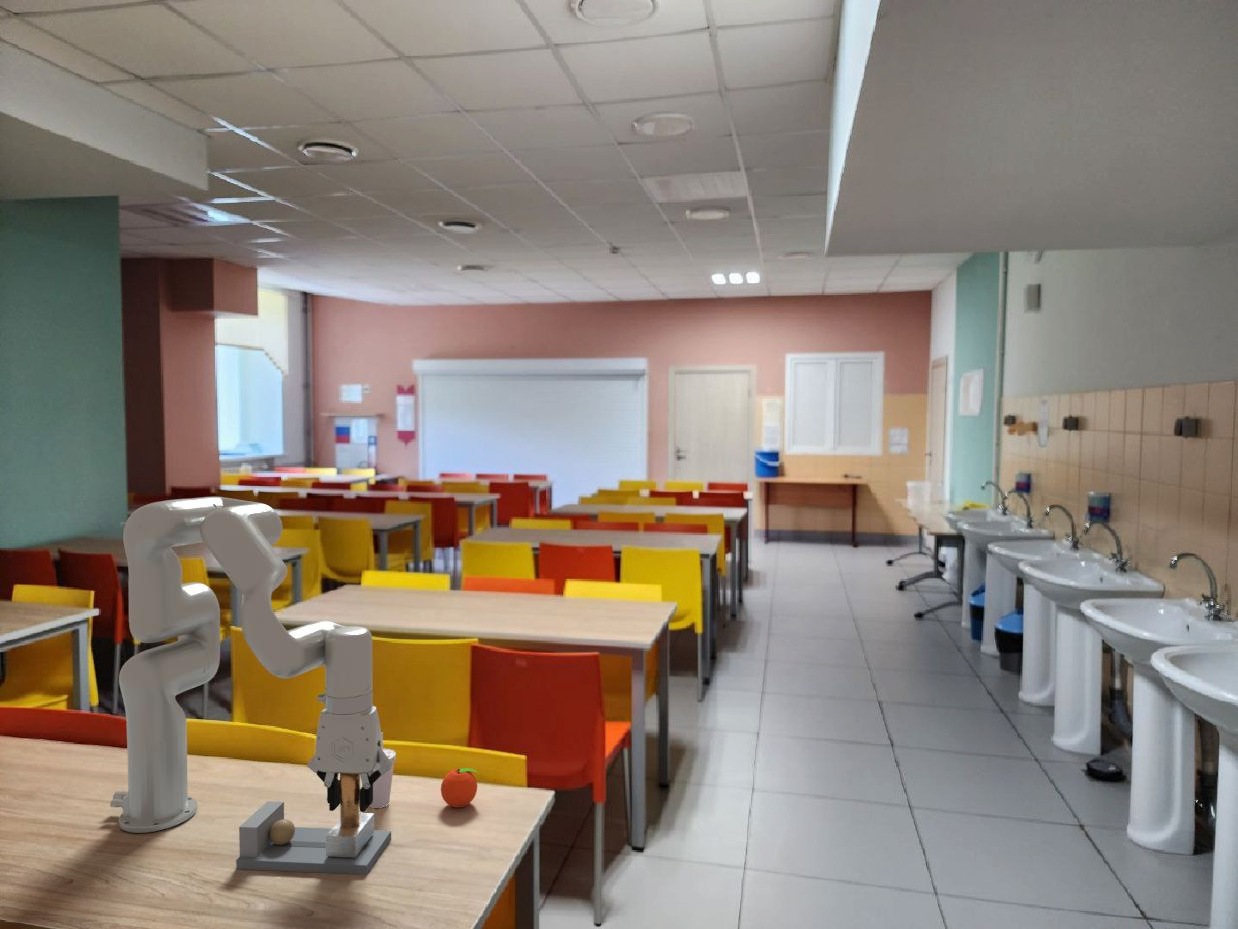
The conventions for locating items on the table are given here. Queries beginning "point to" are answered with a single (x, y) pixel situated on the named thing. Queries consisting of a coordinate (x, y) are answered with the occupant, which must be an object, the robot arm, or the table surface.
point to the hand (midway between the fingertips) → (350, 806)
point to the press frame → (298, 846)
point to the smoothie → (383, 782)
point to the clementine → (459, 787)
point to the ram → (349, 821)
